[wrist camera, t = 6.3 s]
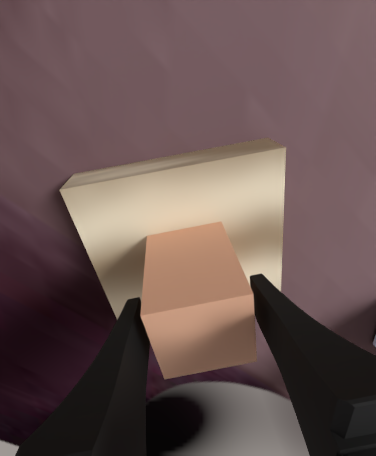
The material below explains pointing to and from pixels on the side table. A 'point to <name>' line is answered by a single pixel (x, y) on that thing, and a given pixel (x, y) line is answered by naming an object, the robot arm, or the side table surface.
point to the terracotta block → (197, 302)
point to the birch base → (181, 209)
